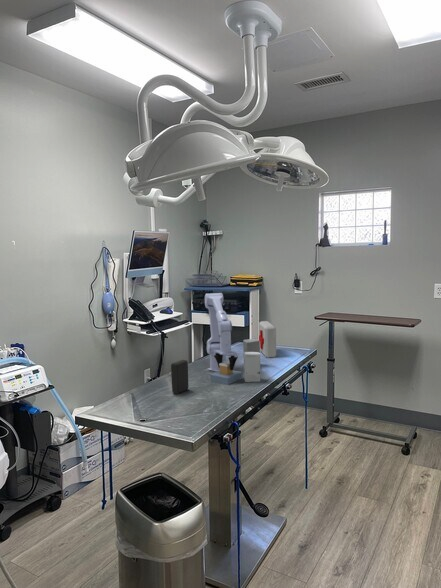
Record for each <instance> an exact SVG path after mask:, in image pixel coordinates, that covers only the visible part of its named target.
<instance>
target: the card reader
mask: <svg viewBox="0 0 441 588" xmlns="http://www.w3.org/2000/svg"><path fill="white" fill-rule="evenodd" d="M188 365H189V364H188V360H186V359H181V360H177V361H176V362H175V361H174V362H172V363H171V365H170V375H171V376H170V377H171V392H172V393H173V394H176V395H179V394H181V393H183V392H185V391H188V390H189V366H188Z"/></svg>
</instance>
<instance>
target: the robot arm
mask: <svg viewBox="0 0 441 588" xmlns="http://www.w3.org/2000/svg"><path fill="white" fill-rule="evenodd" d="M223 303H224V294H223V293H222V292H214V293H213V292H212V293H205V295H204V306H205V308H206V309H208V314H209V315H208V316H209V327H210V338H208V339H207V341H206V352H207V354H208V355H209V365H210V366H209V367H208V368H207V369H206V370H208V371H212V372H219V371H220V367H219V364H220V363H222V362H227V357H226V356H228V360H229V361H228V362H230V370H234V369H235V365H236V362H237V360H238V357H239V353H238V352H235V351H232V340H231V339H232V337H231V333H232V330H233V324H232V323H233V322H232V321H231V320H230V318H229V317H228V315H227V312H226V311H225V310H224V309H223ZM234 371H235V370H234Z"/></svg>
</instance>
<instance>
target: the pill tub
mask: <svg viewBox="0 0 441 588" xmlns="http://www.w3.org/2000/svg"><path fill="white" fill-rule="evenodd" d="M219 367H220V374H223V375H229V374H232V373H233V370H230V362H229V361H226V362H222V363H220V364H219Z"/></svg>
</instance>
